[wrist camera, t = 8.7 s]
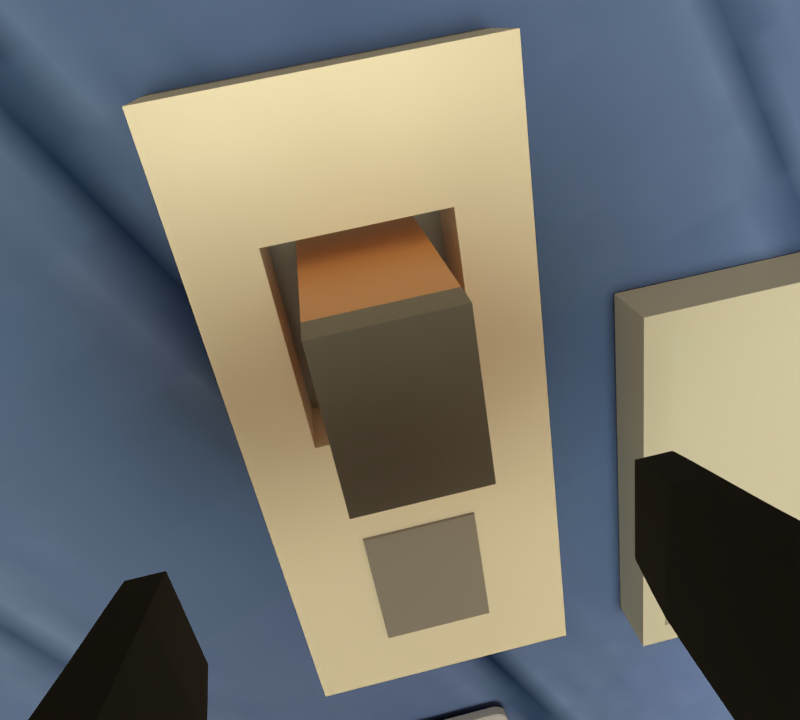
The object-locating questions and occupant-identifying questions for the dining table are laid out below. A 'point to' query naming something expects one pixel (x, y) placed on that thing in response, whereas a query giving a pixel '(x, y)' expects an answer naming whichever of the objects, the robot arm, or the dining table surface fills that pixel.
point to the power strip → (284, 354)
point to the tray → (708, 395)
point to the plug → (393, 366)
